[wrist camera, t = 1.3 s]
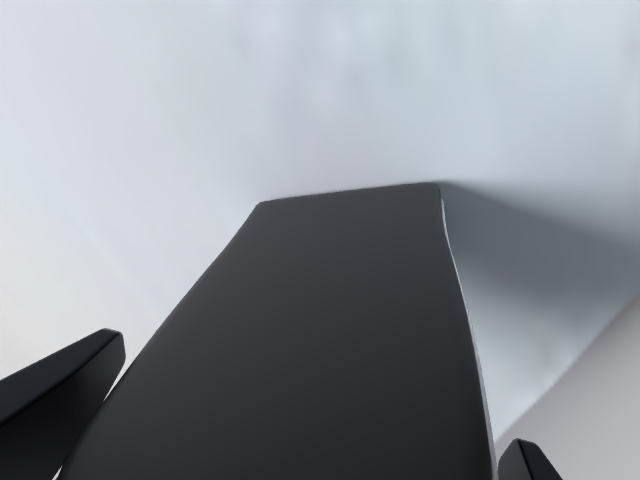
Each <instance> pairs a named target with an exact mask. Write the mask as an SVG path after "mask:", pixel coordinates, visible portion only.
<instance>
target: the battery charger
mask: <svg viewBox="0 0 640 480" xmlns="http://www.w3.org/2000/svg"><path fill="white" fill-rule="evenodd" d="M57 480H499V479H498V470H497V463H496V456H495V449H494V443H493V436H492V429H491V423H490V417H489V411H488V405H487V398H486V392H485V387H484V381H483V376H482V370H481V365H480V359H479V355H478V350H477V346H476V341H475V337H474V332H473V328H472V323H471V319H470V316H469V312H468V308H467V304H466V300H465V297H464V293H463V290H462V286H461V282H460V279H459V275H458V271H457V268H456V265H455V262H454V258H453V255H452V252H451V248H450V244H449V239H448V234H447V228H446V222H445V213H444V202H443V200H442V199H441V196H440V190H439V188H438V187H437V186H436V184H433V183H418V184H408V185H399V186H389V187H380V188H371V189H362V190H352V191H343V192H335V193H327V194H318V195H310V196H302V197H294V198H286V199H278V200H270V201H264V202H260V203H259V204H258V205H256V207H255V208H254V210H253V211H252V213H251V214H250V215H249V217H248V218H247V220H246V221H245V223H244V224H243V225H242V226H241V228H240V229H239V230H238V232H237V233H236V235H235V236H234V237H233V239H232V240H231V241H230V242H229V244H228V245H227V246H226V247H225V249H224V250H223V251H222V252H221V253H220V255H219V256H218V257H217V258H216V259H215V260H214V262H213V263H212V264H211V265H210V266H209V267H208V269H207V270H206V271H205V272H204V273H203V275H202V276H201V277H200V278H199V279H198V281H197V282H196V283H195V284H194V285H193V287H192V288H191V289H190V290H189V291H188V293H187V294H186V295H185V296H184V297H183V299H182V300H181V301H180V302H179V304H178V305H177V306H176V307H175V308H174V310H173V311H172V312H171V313H170V315H169V316H168V317H167V318H166V320H165V321H164V322H163V323H162V325H161V326H160V327H159V329H158V330H157V331H156V332H155V334H154V335H153V336H152V337H151V339H150V340H149V341H148V343H147V344H146V345H145V347H144V348H143V349H142V351H141V352H140V353H139V355H138V356H137V357H136V358H135V360H134V361H133V362H132V364H131V365H130V366H129V368H128V369H127V370H126V372H125V373H124V375H123V376H122V377H121V379H120V380H119V381H118V383H117V384H116V385H115V387H114V388H113V389H112V391H111V392H110V393H109V395H108V396H107V398H106V399H105V400H104V402H103V403H102V404H101V406H100V407H99V409H98V410H97V411H96V413H95V414H94V415H93V417H92V418H91V420H90V421H89V422H88V424H87V425H86V426H85V428H84V429H83V431H82V433H81V434H80V436H79V437H78V439H77V441H76V442H75V444H74V446H73V447H72V449H71V450H70V452H69V454H68V455H67V457H66V458H65V460H64V462H63V465H62V468H61V470H60V473H59V476H58V478H57Z"/></svg>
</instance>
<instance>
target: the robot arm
mask: <svg viewBox="0 0 640 480" xmlns="http://www.w3.org/2000/svg"><path fill="white" fill-rule="evenodd" d="M125 359H126V353H125V346H124V340H123V335H122V333H121V332H119V331H115V330H111V329H107V328H104V329H101V330H98V331H96V332H95V333H93V334H91V335H89V336H87V337H85V338H83V339H81V340H79V341H77V342H75V343H73V344H71V345H69V346H67V347H65V348H63V349H61V350H59V351H57V352H55V353H53V354H51V355H49V356H47V357H45V358H43V359H41V360H39V361H37V362H35V363H33V364H31V365H29V366H27V367H25V368H23V369H21V370H19V371H17V372H15V373H13V374H11V375H9V376H7V377H5V378H3V379H2V380H0V480H52V479H53V478H54V476H55V475H56V473H57V472H58V470H59V469H60V468H61V466H62V465H63V462H64V460H65V458H66V457H67V455H68V454H69V452H70V450H71V449H72V447H73V446H74V444H75V442H76V441H77V439H78V437H79V436H80V434H81V433H82V431H83V429H84V428H85V426H86V425H87V424H88V422H89V421H90V420H91V418H92V417H93V415H94V414H95V413H96V411H97V410H98V409H99V407H100V406H101V404H102V403H103V401H104V399H105V397H106V396H107V394H108V392H109V390H110V389H111V387H112V385H113V383H114V381H115V380H116V378H117V376H118V374H119V373H120V371H121V369H122V367H123V365H124V363H125ZM58 476H59V475H58ZM57 478H58V477H57ZM57 478H56V479H55V480H57ZM498 479H499V480H563V479H562V478H561V477H560V475H559V474H558V473H557V471H556V470H555V468H554V467H553V466H552V464H551V463H550V461H549V460H548V459H547V457H546V456H545V455H544V453H543V452H542V450H541V449H540V448H539V447H538V446H537V445H536V444H535V443H533V442H530V441H526V440H522V439H519V438H516V439H514V440H513V441H512V442H511V444H510V445H509V446H508V448H507V449H506V450H505V452H504V454H503V455H502V456H501V458H500V460H499V463H498Z"/></svg>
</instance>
